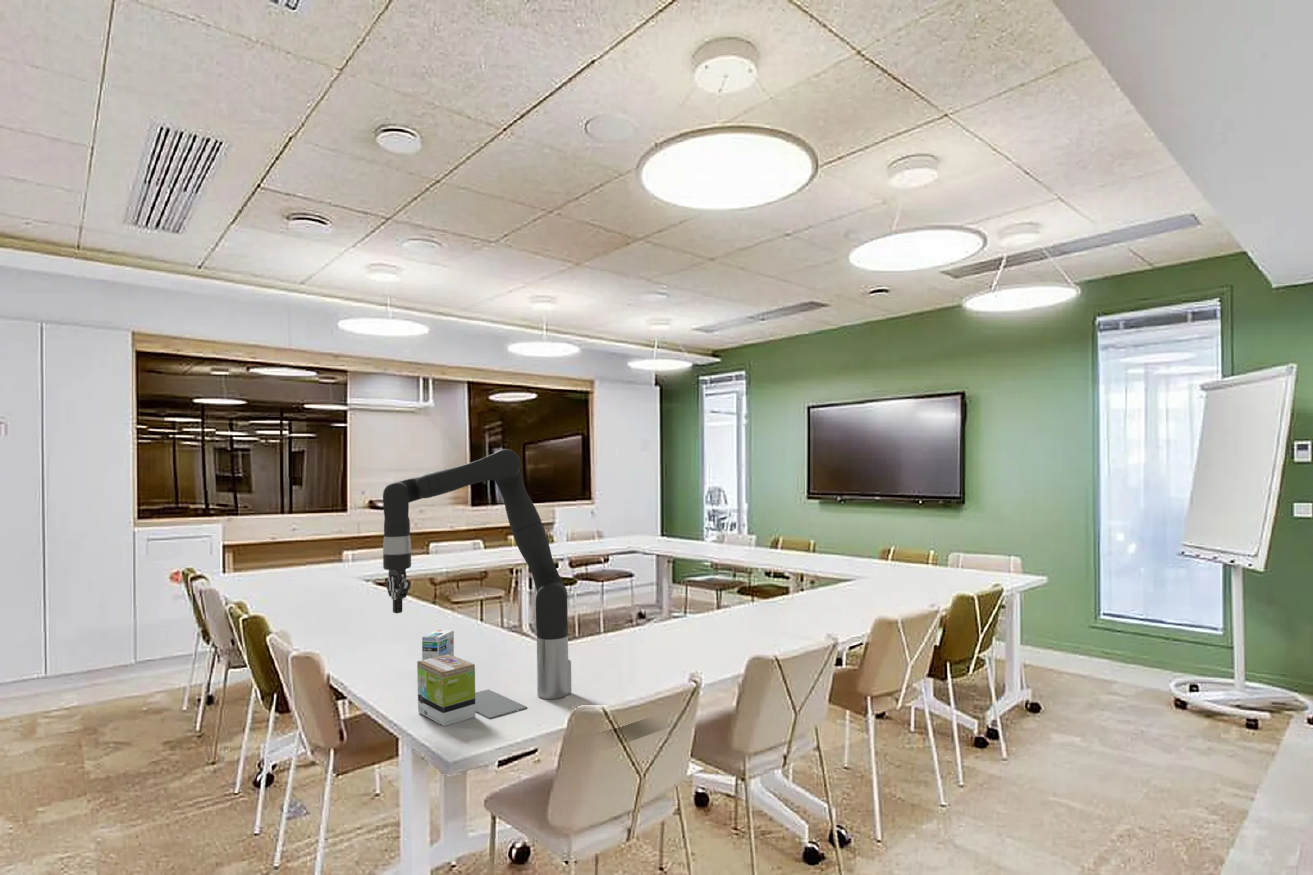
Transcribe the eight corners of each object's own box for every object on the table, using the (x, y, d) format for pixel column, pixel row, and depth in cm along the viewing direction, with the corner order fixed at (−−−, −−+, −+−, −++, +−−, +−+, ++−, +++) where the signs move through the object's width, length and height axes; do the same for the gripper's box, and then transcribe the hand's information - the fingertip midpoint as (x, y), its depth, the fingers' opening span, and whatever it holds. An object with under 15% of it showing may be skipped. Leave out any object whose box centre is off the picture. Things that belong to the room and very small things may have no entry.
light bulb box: (439, 669, 244) (439, 637, 244) (421, 668, 245) (421, 636, 245) (454, 660, 254) (454, 629, 254) (437, 660, 255) (436, 629, 256)
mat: (488, 690, 220) (488, 689, 220) (527, 708, 204) (527, 706, 204) (451, 700, 212) (451, 698, 212) (489, 719, 196) (489, 717, 196)
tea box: (416, 713, 201) (416, 660, 201) (449, 704, 208) (449, 652, 208) (443, 727, 190) (442, 670, 191) (476, 717, 197) (476, 662, 198)
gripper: (419, 552, 205) (420, 614, 204) (400, 548, 215) (401, 607, 214) (393, 555, 200) (393, 618, 199) (375, 551, 210) (375, 611, 209)
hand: (397, 612), depth 207 cm, fingers closed
